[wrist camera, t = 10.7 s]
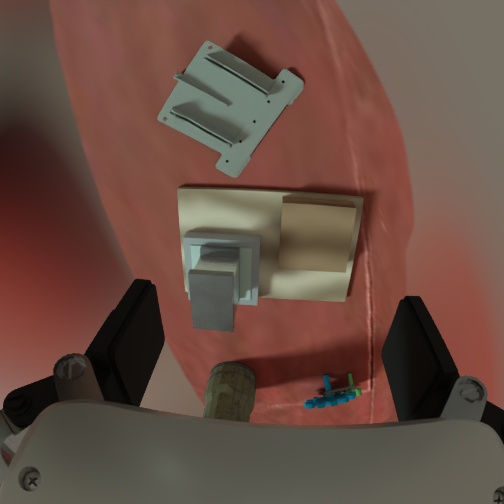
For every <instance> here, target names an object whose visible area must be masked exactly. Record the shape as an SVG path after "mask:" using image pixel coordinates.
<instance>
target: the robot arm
mask: <svg viewBox="0 0 504 504" xmlns="http://www.w3.org/2000/svg"><path fill="white" fill-rule="evenodd" d="M164 341H165V336H164V330H163V325H162V320H161V314H160V309H159V303H158V297H157V291H156V286H155V285H154V284H152V283H151V281H150V280H144V279H135V280H134V281H133V283H132V284H131V286H130V288H129V289H128V290H127V292H126V293H125V295H124V296H123V298H122V299H121V301H120V302H119V304H118V305H117V307H116V308H115V310H113V311H112V312H111V313H110V314H109V316H108V317H107V319H106V321H105V322H104V324H103V325H102V327H101V328H100V330H99V331H98V333H97V335H96V336H95V338H94V339H93V341H92V342H91V344H90V346H89V347H88V349H87V351H86V352H85V354H84V355H83V354H79V353H72V354H67V355H65V356H63V357H61V358H60V359H59V360H58V361H57V362H56V363H55V365H54V368H53V375H52V376H49V377H47V378H44V379H42V380H39V381H37V382H34V383H31V384H28V385H26V386H23V387H20V388H18V389H15V390H13V391H12V392H10V393H9V394H8V395H7V397H6V398H5V400H4V403H3V409H1V410H0V504H504V410H502V409H501V408H499V407H497V406H495V405H494V404H492V403H490V402H489V401H487V395H488V394H487V389H486V387H485V385H484V384H483V383H482V382H481V381H480V380H479V379H477V378H475V377H472V376H462V377H460V376H459V373H458V370H457V368H456V365H455V363H454V361H453V359H452V357H451V355H450V352H449V350H448V349H447V346H446V344H445V342H444V340H443V338H442V337H441V334H440V333H439V330H438V329H437V327H436V325H435V323H434V321H433V319H432V317H431V315H430V313H429V312H428V310H427V308H426V306H425V304H424V302H423V301H422V299H421V297H419V296H405V298H404V299H402V300H400V302H399V305H398V308H397V311H396V314H395V316H394V319H393V322H392V325H391V328H390V330H389V333H388V336H387V338H386V341H385V344H384V346H383V349H382V360H383V364H384V367H385V371H386V374H387V378H388V382H389V385H390V389H391V393H392V397H393V400H394V404H395V408H396V412H397V416H398V420H399V422H386V423H372V424H353V425H284V424H265V423H250V422H239V421H228V420H219V419H211V418H203V417H195V416H188V415H182V414H175V413H170V412H164V411H158V410H152V409H147V408H142V407H139V406H140V403H141V401H142V398H143V395H144V393H145V390H146V388H147V385H148V382H149V380H150V378H151V375H152V373H153V370H154V368H155V365H156V363H157V360H158V358H159V355H160V353H161V350H162V348H163V345H164Z"/></svg>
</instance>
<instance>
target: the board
mask: <svg viewBox="0 0 504 504" xmlns="http://www.w3.org/2000/svg"><path fill="white" fill-rule="evenodd" d="M177 192H178V209H179V224H180V237H181V249H182V261H183V271H184V282H185V291H186V292H188V288H187V278H186V267H185V256H184V244H183V237H184V235H185V234H186V232H187V231H192V232H212V233H231V234H249V235H261V244H260V268H259V292H258V297H263V298H279V299H297V300H317V301H340V302H345V299H346V294H347V290H348V285H349V281H350V276H351V271H352V266H353V261H354V256H355V250H356V245H357V239H358V234H359V228H360V222H361V216H362V209H363V203H364V198H363V197H361V196H351V195H340V194H328V193H315V192H301V191H286V190H269V189H248V188H223V187H178V188H177ZM282 196H285V197H300V198H314V199H327V200H339V201H351V202H353V203H354V205H355V206H356V208H357V210H356V217H355V223H354V229H353V235H352V241H351V247H350V252H349V258H348V263H347V268H346V273H341V272H323V271H305V270H288V269H278V256H279V241H280V227H281V211H282Z"/></svg>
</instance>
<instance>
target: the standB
mask: <svg viewBox="0 0 504 504" xmlns="http://www.w3.org/2000/svg"><path fill="white" fill-rule="evenodd" d="M183 244H184V256H185V267H186V278H187V288H188V298H189V300H190V291H189V281H188V272H189V270H190V269H194V268H195V266H196V264H197V262H198V260H199V257H200V248H201V246H202V245H203V246H221V247H238V248H240V300H239V303H238V304H245V305H257V304H258V292H259V268H260V244H261V235H249V234H231V233H212V232H192V231H187V232H186V234H185V235H184V237H183Z"/></svg>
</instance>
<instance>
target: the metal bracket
mask: <svg viewBox="0 0 504 504" xmlns="http://www.w3.org/2000/svg"><path fill="white" fill-rule="evenodd" d="M210 45H211V46H213V48H212V49H211V50H209V49H208V46H210ZM174 78H175V79H176V80H178V81H179V82H178V83H177V85H176V87H175V88H174V90H173V92H172V93H171V95H170V96H169V98H168V100H167V102H166V103H165V105H164V107H163V108H162V110H161V112H160V114H159V115H158V117H157V119H158V121H160V122H162V123H164V124H166V125H168V126H170V127H172V128H174V129H176V130H178V131H180V132H182V133H184V134H186V135H188V136H190V137H192V138H193V139H195V140H197V141H199V142H201V143H203V144H205V145H207V146H209V147H210V148H212V149H214V150H216V151H218V152H220V153H221V154H222V156H221V157H220V159H219V160H218V162H217V164H216V168H217V169H218V170H220V171H222V172H224V173H225V174H227V175H229V176H231V177H234V178H235V177H237V176H239V174H240V173H241V171H242V170H243V169H244V167H245V166H246V164H247V163H248V162H249V160H250V159H251V157H250V156H251V154H252V152H253V151H254V150H255V148H256V147H257V145H258V144H259V143H260V141H261V140H262V138H263V137H264V136H265V134H266V133H267V131H268V130H269V129H270V127H271V126H272V125H273V123H274V122H275V120H276V119H277V118H278V116H279V115H280V114H281V112H282V111H283V110H284V108H285V107H286V105H288V104H290V105H291V104H292V103H293V101H294V99H296V97H297V96H298V95H299V94H300V92H301V91H302V90H303V86H304V82H303V81H302V80H301V79H299V78H298V77H297V76H295V75H294V74H292V73H291V72H290V71H288V70H286V69H283V70H282V71H281V72H280V74H279V75H278V76H277V78H276V79H271V78H270V77H268V76H267V75H265V74H263V73H262V72H260V71H259V70H257V69H256V68H254V67H252V66H251V65H249V64H248V63H246V62H244V61H243V60H241V59H239V58H238V57H236V56H234V55H233V54H231V53H229V52H227V51H226V50H224V49H222V48H220V47H219V46H217V45H215V44H213V43H211V42H210V41H206V42H205V43H204V44H203V45H202V47H201V48H200V50H199V51H198V53H197V54H196V56H195V57H194V59H193V60H192V62H191V63H190V65H189V66H188V68H187V69H186V71H185V72H184V74H183V75H182V74H181V73H178V72H177V73H176V74H175V76H174ZM283 80H284V81H285V82H284V83H282V81H283ZM268 100H270V103H268V102H267V101H268ZM163 117H167V120H163ZM254 120H256V122H255V123H253V121H254ZM240 140H242V142H241V143H240V142H239V141H240ZM226 160H229V161H228V162H226Z"/></svg>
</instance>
